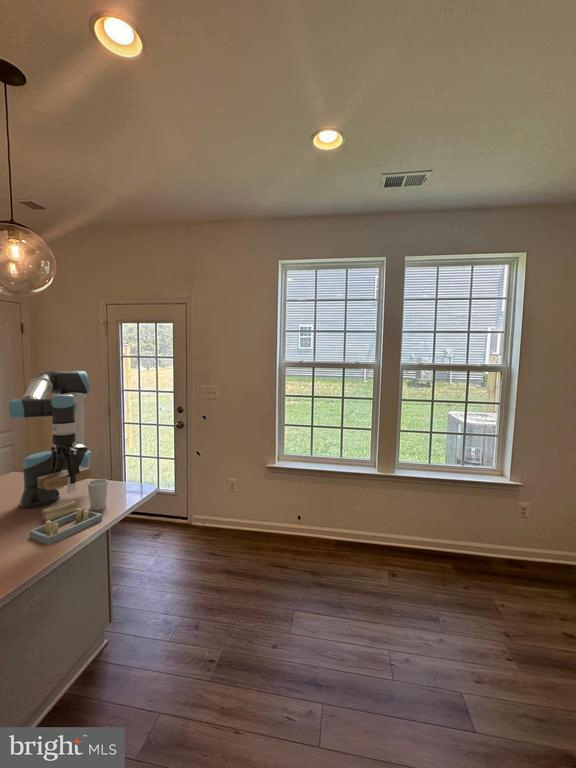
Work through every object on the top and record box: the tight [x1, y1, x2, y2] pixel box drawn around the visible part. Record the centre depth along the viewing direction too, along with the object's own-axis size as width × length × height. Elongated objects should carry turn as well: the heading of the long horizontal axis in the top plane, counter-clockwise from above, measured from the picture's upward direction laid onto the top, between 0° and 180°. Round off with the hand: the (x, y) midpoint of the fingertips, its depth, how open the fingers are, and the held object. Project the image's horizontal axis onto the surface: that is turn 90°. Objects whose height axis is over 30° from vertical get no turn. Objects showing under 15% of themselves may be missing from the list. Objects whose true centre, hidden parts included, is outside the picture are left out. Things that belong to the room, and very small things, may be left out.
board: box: [38, 466, 91, 491], centre depth 130 cm, size 7×16×4 cm, turn 155°
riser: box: [41, 499, 78, 522], centre depth 142 cm, size 4×12×4 cm, turn 156°
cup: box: [87, 478, 108, 511], centre depth 149 cm, size 8×8×12 cm
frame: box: [28, 507, 103, 546], centre depth 130 cm, size 12×21×5 cm, turn 156°
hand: (65, 489), depth 130 cm, fingers closed on board, 7 cm apart
